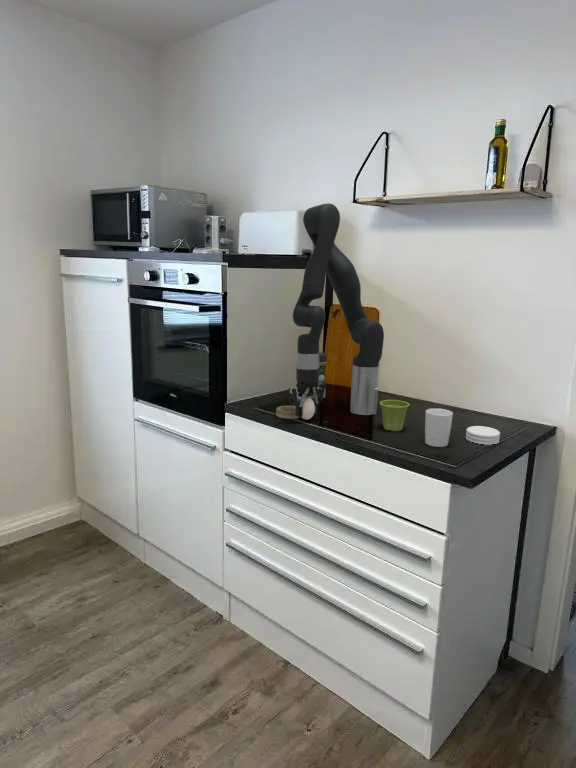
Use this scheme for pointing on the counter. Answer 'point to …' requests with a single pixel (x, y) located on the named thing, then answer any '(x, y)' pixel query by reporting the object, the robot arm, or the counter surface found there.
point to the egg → (308, 408)
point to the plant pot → (393, 414)
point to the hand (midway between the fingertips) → (306, 415)
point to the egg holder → (286, 412)
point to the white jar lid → (482, 435)
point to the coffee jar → (322, 369)
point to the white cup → (437, 427)
